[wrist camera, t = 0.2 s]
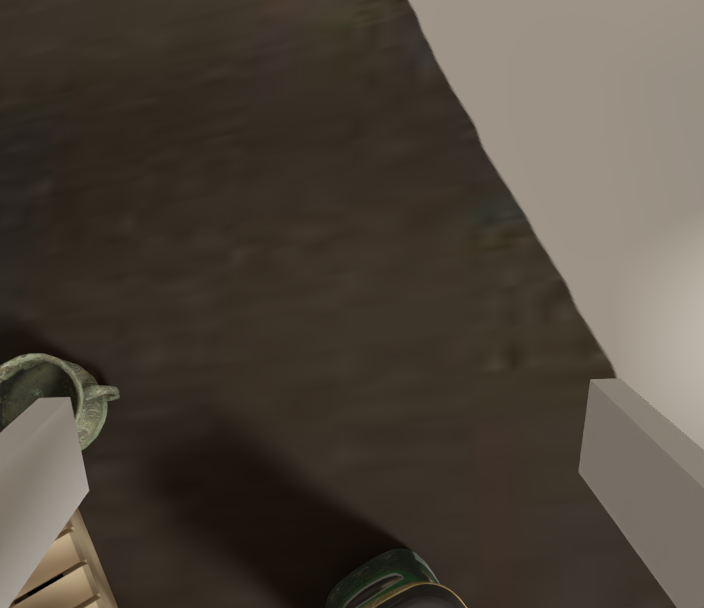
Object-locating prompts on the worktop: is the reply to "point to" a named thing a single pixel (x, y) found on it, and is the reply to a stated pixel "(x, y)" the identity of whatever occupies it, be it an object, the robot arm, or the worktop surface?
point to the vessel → (54, 391)
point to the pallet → (68, 574)
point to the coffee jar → (392, 585)
